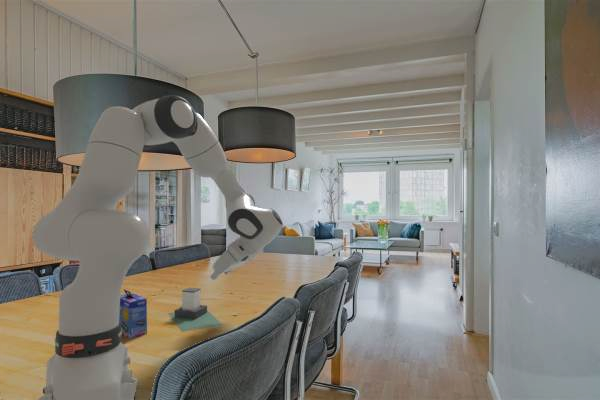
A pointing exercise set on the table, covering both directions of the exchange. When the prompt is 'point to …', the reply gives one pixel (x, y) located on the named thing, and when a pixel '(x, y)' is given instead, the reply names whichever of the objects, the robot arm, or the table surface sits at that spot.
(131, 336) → the ink cartridge box
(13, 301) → the table surface
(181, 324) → the board
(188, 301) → the plug
